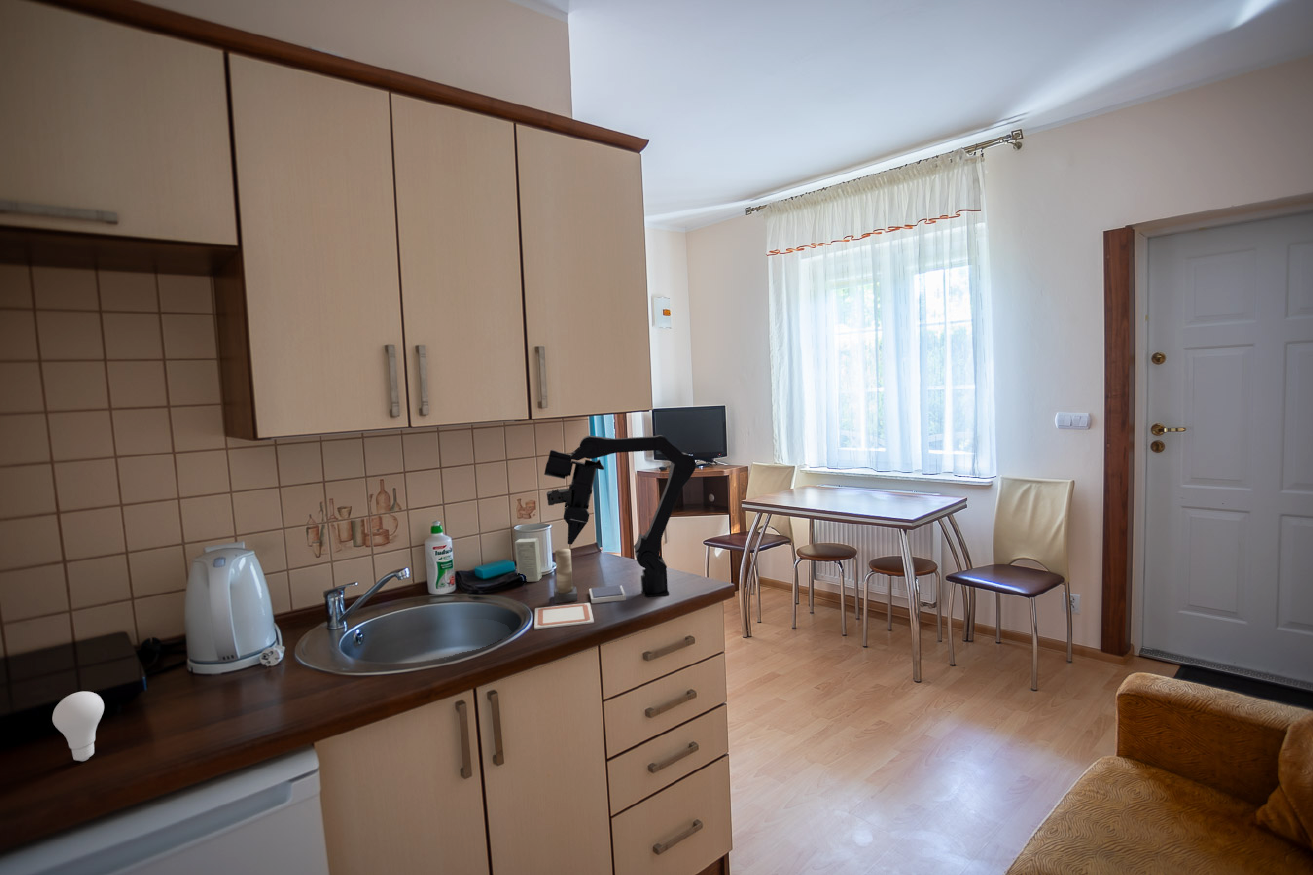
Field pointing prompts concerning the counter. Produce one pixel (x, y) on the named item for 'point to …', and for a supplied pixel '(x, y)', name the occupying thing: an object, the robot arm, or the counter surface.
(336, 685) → the counter surface
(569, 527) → the robot arm
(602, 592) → the ink pad
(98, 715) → the lightbulb
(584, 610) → the board
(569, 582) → the stamp
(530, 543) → the skincare box
